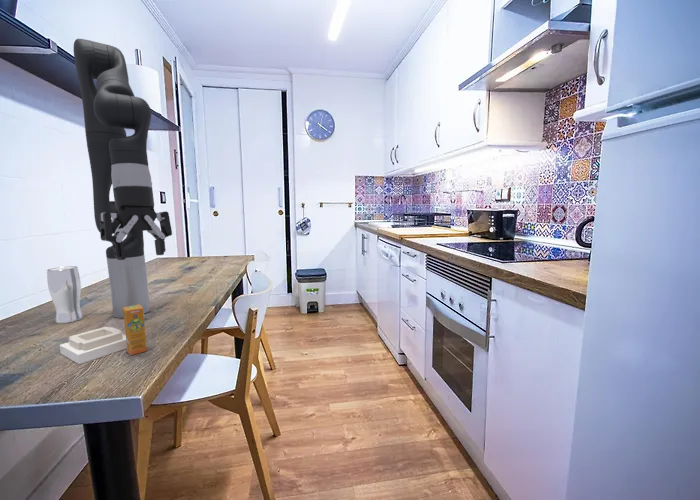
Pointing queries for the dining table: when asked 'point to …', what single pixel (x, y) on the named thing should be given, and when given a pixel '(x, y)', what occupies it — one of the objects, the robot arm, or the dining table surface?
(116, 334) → the display stand
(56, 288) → the beer glass
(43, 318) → the dining table surface
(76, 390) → the dining table surface
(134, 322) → the supplement box
